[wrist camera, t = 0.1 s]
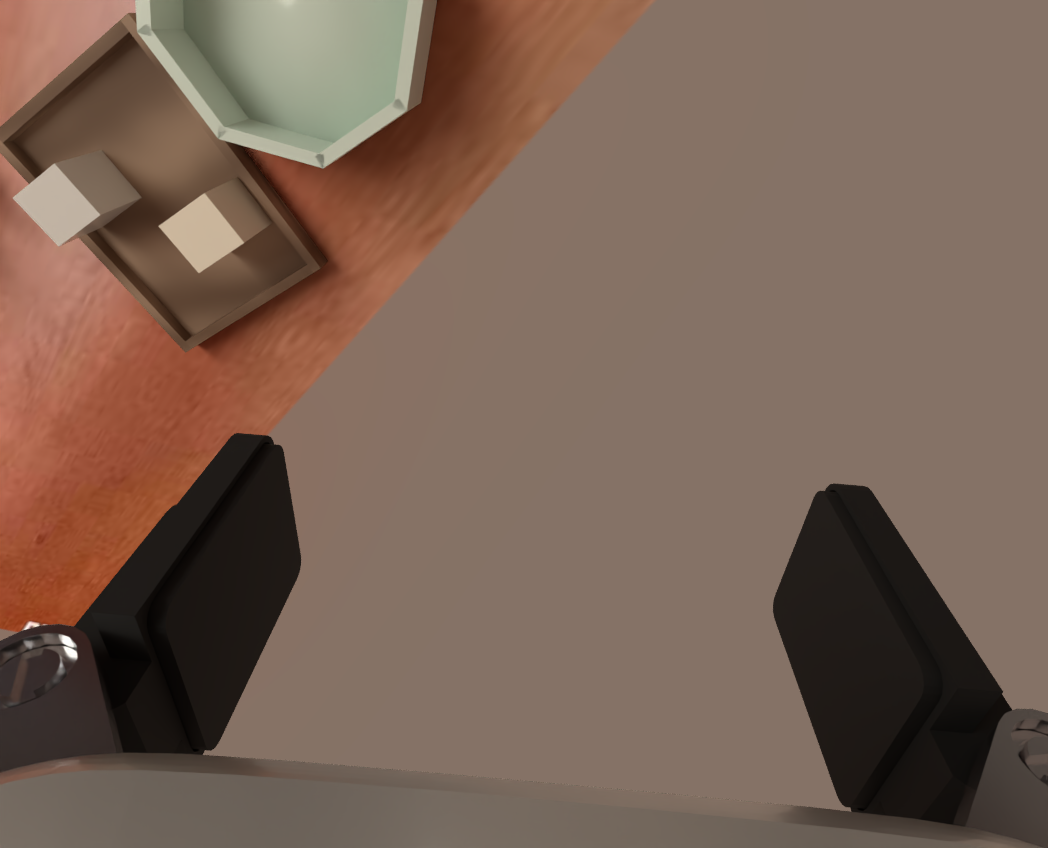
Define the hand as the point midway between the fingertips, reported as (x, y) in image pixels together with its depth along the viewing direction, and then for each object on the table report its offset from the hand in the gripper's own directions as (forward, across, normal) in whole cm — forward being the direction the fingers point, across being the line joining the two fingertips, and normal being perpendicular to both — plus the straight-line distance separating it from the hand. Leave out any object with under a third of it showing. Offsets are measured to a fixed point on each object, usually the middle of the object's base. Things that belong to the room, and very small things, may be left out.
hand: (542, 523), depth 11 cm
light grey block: (+37, +32, +5) cm, 49 cm away
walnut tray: (+37, +27, +5) cm, 46 cm away
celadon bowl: (+37, +16, -7) cm, 41 cm away
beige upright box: (+37, +23, +6) cm, 43 cm away
